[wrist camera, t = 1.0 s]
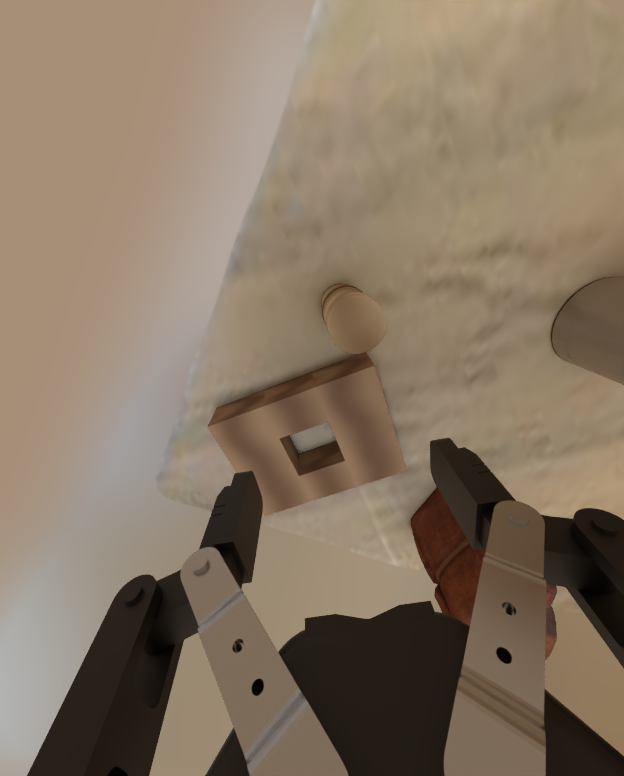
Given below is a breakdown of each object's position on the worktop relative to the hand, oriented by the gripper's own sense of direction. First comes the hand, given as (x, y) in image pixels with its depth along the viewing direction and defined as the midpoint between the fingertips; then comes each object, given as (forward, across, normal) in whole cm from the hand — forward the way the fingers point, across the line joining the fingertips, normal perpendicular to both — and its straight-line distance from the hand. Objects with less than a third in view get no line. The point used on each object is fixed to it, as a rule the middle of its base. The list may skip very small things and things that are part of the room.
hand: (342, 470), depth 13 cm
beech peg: (+20, -3, -4) cm, 20 cm away
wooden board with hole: (+20, +3, +10) cm, 22 cm away
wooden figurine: (+20, -13, +27) cm, 36 cm away
